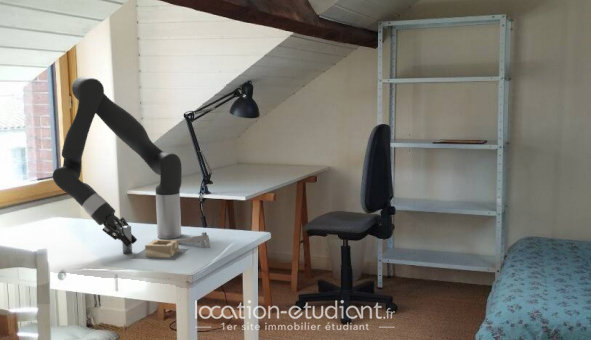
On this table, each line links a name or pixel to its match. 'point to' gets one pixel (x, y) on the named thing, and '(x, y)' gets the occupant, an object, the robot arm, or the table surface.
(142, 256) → the mat
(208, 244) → the caliper
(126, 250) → the ball
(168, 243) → the wooden square frame
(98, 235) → the table surface
